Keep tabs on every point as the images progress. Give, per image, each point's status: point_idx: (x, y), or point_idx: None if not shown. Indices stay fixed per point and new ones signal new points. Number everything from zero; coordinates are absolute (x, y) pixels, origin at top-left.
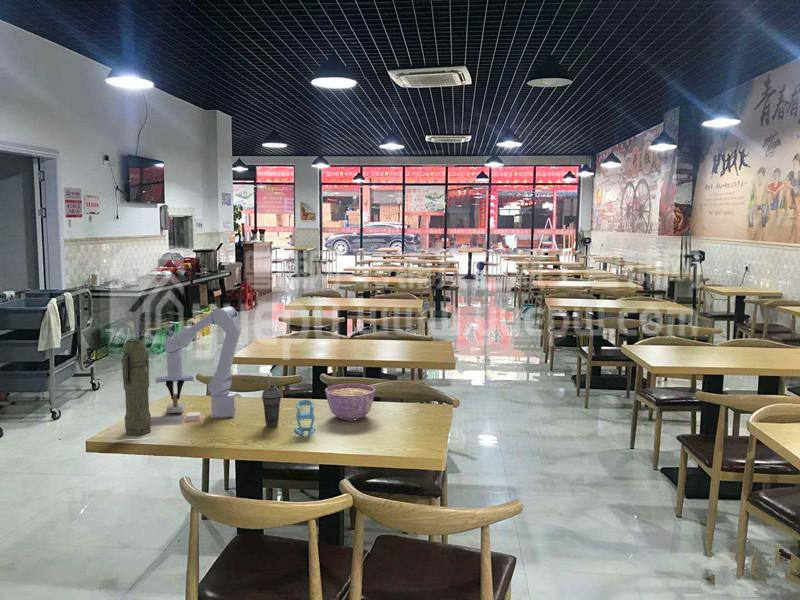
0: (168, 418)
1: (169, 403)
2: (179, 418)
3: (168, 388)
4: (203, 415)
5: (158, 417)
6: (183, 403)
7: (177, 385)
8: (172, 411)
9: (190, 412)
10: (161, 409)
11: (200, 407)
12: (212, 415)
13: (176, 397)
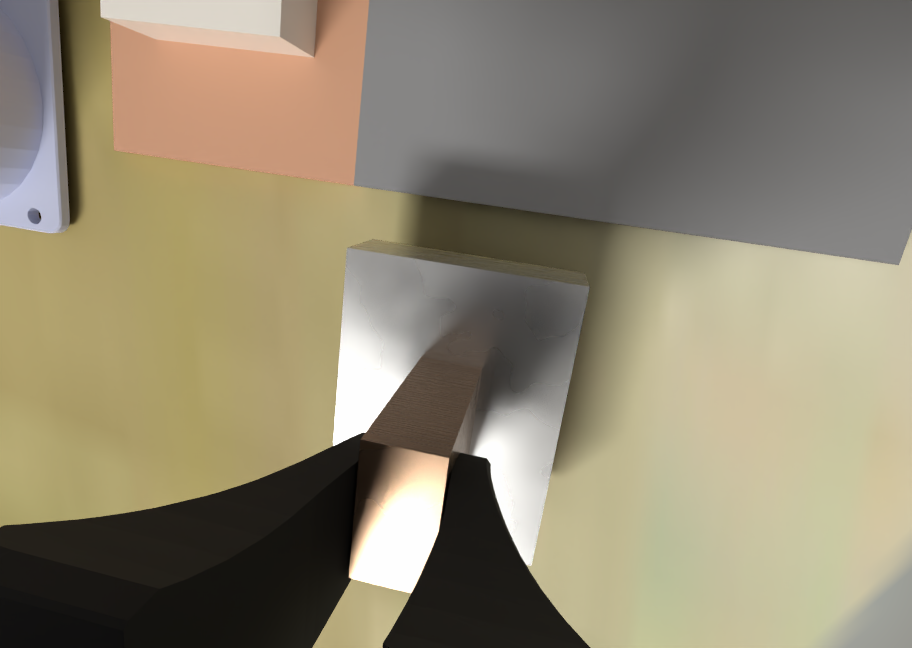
0: (570, 84)
1: (528, 554)
2: (420, 35)
3: (540, 605)
4: (131, 95)
5: (705, 190)
6: None
7: (184, 566)
8: (502, 262)
9: (239, 29)
10: (622, 594)
11: None
12: (25, 44)
13: (388, 418)
